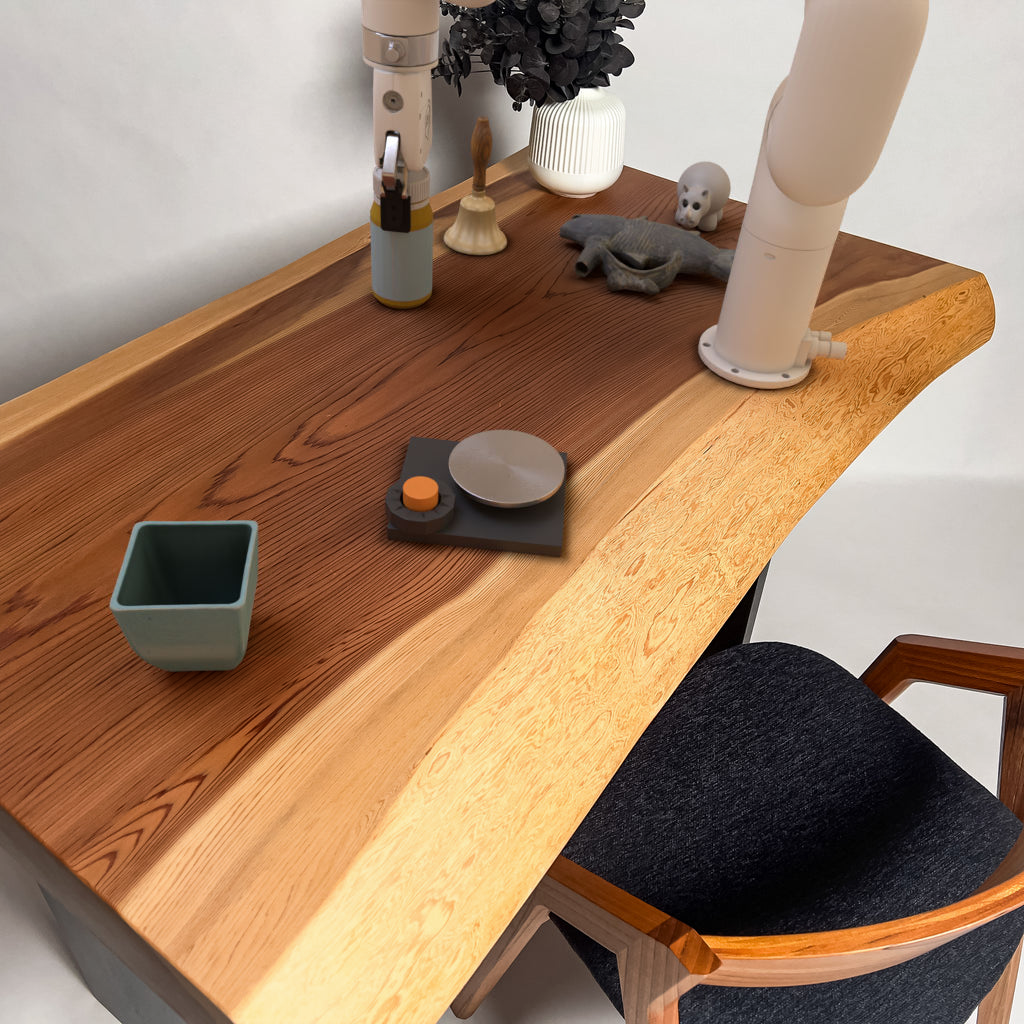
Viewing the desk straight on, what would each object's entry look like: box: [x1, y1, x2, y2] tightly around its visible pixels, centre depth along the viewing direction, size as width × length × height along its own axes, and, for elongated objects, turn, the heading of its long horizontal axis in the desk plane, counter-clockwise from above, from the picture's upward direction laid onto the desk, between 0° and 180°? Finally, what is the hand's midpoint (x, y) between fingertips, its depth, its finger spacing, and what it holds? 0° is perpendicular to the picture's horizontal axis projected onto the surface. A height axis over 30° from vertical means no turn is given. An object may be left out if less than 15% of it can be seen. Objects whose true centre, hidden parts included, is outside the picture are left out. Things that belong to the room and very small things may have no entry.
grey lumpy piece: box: [558, 213, 736, 296], centre depth 121 cm, size 5×25×15 cm
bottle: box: [369, 161, 434, 310], centre depth 109 cm, size 7×7×15 cm
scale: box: [384, 436, 568, 558], centre depth 86 cm, size 16×13×3 cm
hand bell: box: [443, 115, 508, 256], centre depth 120 cm, size 8×8×16 cm
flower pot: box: [109, 519, 259, 673], centre depth 70 cm, size 9×9×9 cm
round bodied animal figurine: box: [674, 160, 732, 232], centre depth 130 cm, size 7×12×8 cm, turn 155°
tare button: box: [403, 476, 438, 512], centre depth 82 cm, size 3×3×2 cm
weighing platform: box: [448, 429, 565, 508], centre depth 86 cm, size 10×10×1 cm
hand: (401, 214), depth 107 cm, fingers open, 7 cm apart
